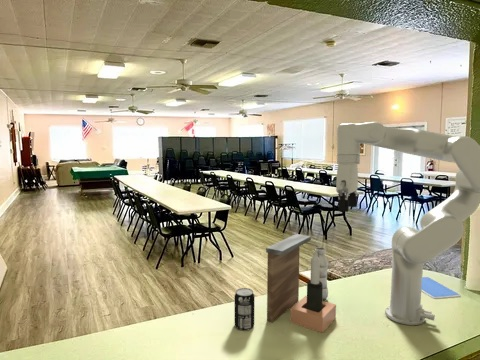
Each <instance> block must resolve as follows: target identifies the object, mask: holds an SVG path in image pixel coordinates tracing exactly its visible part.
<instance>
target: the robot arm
mask: <svg viewBox="0 0 480 360" xmlns="http://www.w3.org/2000/svg"><path fill="white" fill-rule="evenodd" d="M336 128H337V130H336V142H337V143H336V165H337V170H336V171H337V172H336V185H335V186H336V187H335V191H336V193H337V194H338V197H337V198H338V199H337V200H338V211H339V212H346V213H347V212H349V207H350V208H352V207H353V208H357V206H358V192H357V191H358V186H359V171H358V170H359V169H358V165H360V163H361V144H362V145H363V144H364V145H369V146H372V147H378V148H384V149H389V150H392V151H397V152H400V153H403V154H409V155H412V156H418V157H422V158H427V159H433V160H438V161H442V162H448V163H453V164H456V166H457V168H458V170H457V172H456V174H455V180H454V181H455V186H454V189H453V192H452V193H451V195H450V196H449V197H447V198H446V199H444V200H443V201H441V202H440V203H439V204H437V205H436V206H434V207H432V209H430V210H429V211H427V212H425V213H424V214H423V215H422V217H421V218H420V221H419V223H420V227H421V229H420V230H418V229H415V228H414V227H410V226H403V227H400V228H398V229H396V231H395V232H394V233H393V235H392V238H391V252H392V254H391V255H392V264H391V265H392V266H391V283H390V284H391V285H390V301H389V302H390V303H389V306H386V308H385V310H384V315H385V316H386V317H387V318H388V319H390V320H391V321H393V322H396V323H398V324H402V325H407V326H418V325H419V326H420V325H422V324H424V322H425V319H427V320H429V321H435V316H436V315H435V314H432V313H433V312H432V311H430V310H425V308H423V304H421V300H422V291H421V288H422V277H423V270H424V269H423V268H424V267H423V265H424V264H426V263H428V262H431V261H432V260H433V259H435V258H437V257H438V256H440V255H442V254H443V253H444V252H446V251H447V250H448V249H450V248H452V247H453V246H455V245H456V244H457V243H458V242H459V241H460V240H461V239H462V237H463V235H464V231H465V227H464V225H463V222H464V221H465V220H467V219H468V218H469V217H471V216H472V215H473V214H475V212H476V211H477V209H478V207H479V206H480V144H479V143H478V141H476V140H475V139H474V138H472V137H470V136H466V135H465V136H463V135H461V136H459V135H458V136H456V135H449V134H446V133H438V132H434V131H430V130H424V129H421V128H420V129H419V128H397V127H391V126H386V125H383V123H381V122H379V121H371V122H370V121H369V122H363V123H353V122H349V123H341V124H338V125H337V127H336Z"/></svg>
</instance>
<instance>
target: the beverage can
mask: <svg viewBox="0 0 480 360" xmlns="http://www.w3.org/2000/svg"><path fill="white" fill-rule="evenodd" d="M234 326H235V327H236V328H237V329H238V330H239V331H250V330H251V329H252V328H253V327H254V326H255V294H254V291H253V289H252V288H249V287H248V288H246V287H241V288H238V289H236V291H235V294H234Z"/></svg>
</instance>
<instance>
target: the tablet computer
mask: <svg viewBox="0 0 480 360" xmlns="http://www.w3.org/2000/svg"><path fill="white" fill-rule="evenodd" d="M421 293H424V294H425V295H426V296H428V297H430V298H431V299H434V300H437V299H450V298H461V297H460V296H461V294H460V293H458V292H456V291H454V290H453V289H451V288H449V287H447V286H445V285H443V284H441V283H440V282H439V281H436V280H434V279H432V278H431V277H429V276H422V288H421Z"/></svg>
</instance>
